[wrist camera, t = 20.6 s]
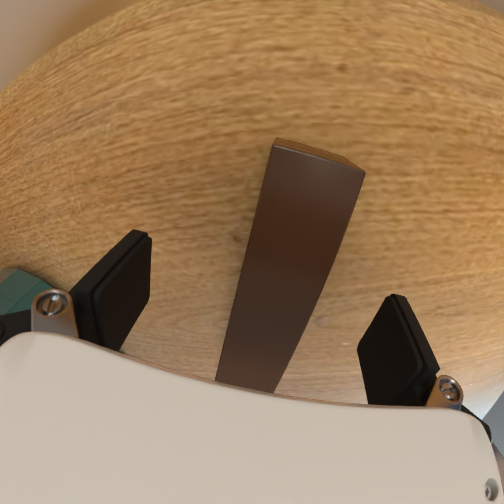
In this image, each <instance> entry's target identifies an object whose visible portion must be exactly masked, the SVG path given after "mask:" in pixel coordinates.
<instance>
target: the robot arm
mask: <svg viewBox="0 0 504 504" xmlns="http://www.w3.org/2000/svg"><path fill="white" fill-rule="evenodd" d="M151 249H152V238H150V237H148V233H146V232H142V231H139V230H135V229H133V230H132V231H131V232H129V233H128V234H127V235H126V236H125V237H124V238H123V239H122V240H121V241H120V242H119V243H117V244H116V245H115V246H114V247H113V248H112V249H111V250H110V251H109V252H108V253H107V254H106V255H105V256H104V257H103V258H102V259H101V260H100V261H99V262H98V263H97V264H96V265H95V266H94V267H93V268H92V269H91V270H90V271H89V272H88V273H87V274H86V275H85V276H84V277H83V278H82V279H81V280H80V281H79V282H78V283H77V284H76V285H75V286H74V287H73V288H72V289H71V290H70V291H69V292H66V291H64V290H61V289H48V290H44V291H42V292H40V293H39V294H38V295H37V296H35V298H34V299H33V301H32V305H31V309H29V310H24V311H19V312H14V313H9V314H4V315H0V504H504V457H503V456H502V454H501V453H500V452H499V450H498V449H497V447H496V446H495V444H494V443H492V444H491V432H490V428H489V426H488V425H487V424H486V423H484V422H483V421H482V420H481V419H479V418H478V417H477V416H476V415H474V414H473V413H472V412H471V411H469V410H468V409H467V408H466V407H465V406H463V405H462V402H463V391H462V388H461V386H460V385H459V384H458V382H457V381H456V380H455V379H453V378H452V377H450V376H447V375H441V376H439V377H438V378H437V377H436V373H437V372H438V371H439V370H440V367H439V365H438V363H437V360H436V358H435V356H434V354H433V352H432V349H431V347H430V345H429V343H428V341H427V339H426V336H425V334H424V332H423V330H422V328H421V326H420V324H419V322H418V320H417V318H416V316H415V314H414V312H413V310H412V308H411V306H410V305H409V303H408V301H407V299H406V297H405V296H401V295H397V294H391V295H390V296H387V297H386V298H385V300H384V301H383V303H382V305H381V307H380V308H379V310H378V312H377V314H376V315H375V317H374V319H373V321H372V322H371V324H370V326H369V327H368V329H367V331H366V332H365V334H364V335H363V337H362V339H361V340H360V342H359V344H358V347H357V353H358V357H359V361H360V366H361V371H362V375H363V380H364V385H365V390H366V395H367V400H368V404H353V403H342V402H332V401H323V400H315V399H307V398H300V397H293V396H286V395H280V394H274V393H269V392H263V391H258V390H253V389H248V388H243V387H238V386H234V385H229V384H225V383H221V382H216V381H212V380H208V379H204V378H200V377H197V376H193V375H189V374H186V373H182V372H179V371H175V370H172V369H168V368H165V367H162V366H159V365H156V364H152V363H149V362H146V361H143V360H140V359H137V358H134V357H131V356H128V355H125V354H122V353H119V352H118V351H119V349H120V347H121V346H122V344H123V342H124V341H125V339H126V337H127V335H128V334H129V332H130V330H131V329H132V327H133V325H134V324H135V322H136V320H137V319H138V317H139V316H140V314H141V312H142V311H143V309H144V307H145V306H146V304H147V302H148V300H149V296H150V269H151Z"/></svg>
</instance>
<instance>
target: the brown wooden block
mask: <svg viewBox="0 0 504 504" xmlns="http://www.w3.org/2000/svg"><path fill="white" fill-rule="evenodd" d="M364 177H365V171H364V170H362V169H361V168H359V167H358V166H356V165H355V164H353V163H352V162H350V161H349V160H348V159H346V158H345V157H343V156H340V155H337V154H334V153H330V152H327V151H324V150H321V149H317V148H314V147H310V146H307V145H303V144H300V143H296V142H293V141H289V140H285V139H281V138H276V139H275V141H274V143H273V145H272V148H271V152H270V156H269V160H268V164H267V168H266V172H265V176H264V180H263V184H262V188H261V192H260V196H259V200H258V204H257V208H256V212H255V216H254V220H253V224H252V229H251V233H250V237H249V241H248V245H247V249H246V253H245V257H244V261H243V265H242V269H241V273H240V278H239V282H238V286H237V290H236V294H235V298H234V302H233V306H232V311H231V315H230V319H229V323H228V327H227V331H226V336H225V340H224V344H223V348H222V352H221V356H220V361H219V365H218V369H217V373H216V377H215V381H216V382H221V383H225V384H229V385H234V386H238V387H243V388H248V389H253V390H258V391H263V392H269V393H274V391H275V389H276V387H277V385H278V383H279V381H280V379H281V377H282V375H283V373H284V371H285V369H286V367H287V365H288V363H289V361H290V359H291V357H292V355H293V353H294V351H295V349H296V347H297V345H298V343H299V341H300V339H301V336H302V334H303V332H304V330H305V328H306V326H307V323H308V321H309V319H310V317H311V315H312V312H313V310H314V308H315V306H316V303H317V301H318V299H319V296H320V294H321V292H322V289H323V287H324V285H325V282H326V280H327V277H328V275H329V272H330V270H331V268H332V265H333V263H334V260H335V258H336V255H337V253H338V250H339V247H340V245H341V242H342V240H343V237H344V234H345V232H346V229H347V226H348V223H349V221H350V218H351V215H352V212H353V210H354V207H355V204H356V201H357V198H358V195H359V192H360V189H361V186H362V183H363V180H364Z"/></svg>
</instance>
